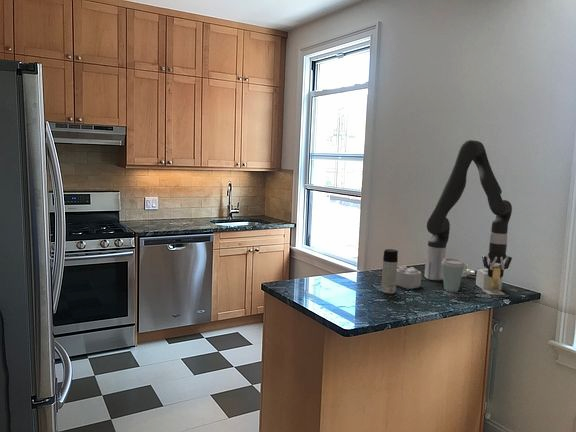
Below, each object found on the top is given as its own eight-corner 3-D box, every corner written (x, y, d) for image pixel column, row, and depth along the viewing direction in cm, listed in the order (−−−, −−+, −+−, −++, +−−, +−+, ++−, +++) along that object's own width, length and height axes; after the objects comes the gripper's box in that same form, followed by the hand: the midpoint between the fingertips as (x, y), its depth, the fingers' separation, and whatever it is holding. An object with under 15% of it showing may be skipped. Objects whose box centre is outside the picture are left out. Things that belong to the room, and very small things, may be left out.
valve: (456, 276, 261) (474, 281, 251) (457, 264, 260) (475, 269, 250) (464, 274, 264) (482, 280, 254) (465, 263, 263) (484, 268, 253)
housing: (483, 289, 235) (484, 273, 234) (475, 284, 244) (477, 269, 243) (501, 290, 235) (502, 274, 234) (493, 285, 244) (494, 269, 243)
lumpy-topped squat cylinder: (409, 289, 231) (410, 271, 230) (388, 282, 241) (390, 266, 240) (423, 286, 237) (424, 269, 236) (402, 280, 248) (403, 263, 246)
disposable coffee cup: (466, 290, 232) (468, 260, 230) (456, 294, 224) (459, 263, 222) (445, 285, 239) (447, 256, 237) (435, 289, 231) (438, 259, 229)
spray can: (396, 291, 227) (399, 249, 224) (393, 294, 221) (396, 252, 218) (383, 289, 230) (385, 248, 227) (379, 292, 224) (382, 250, 221)
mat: (488, 294, 227) (488, 293, 227) (482, 290, 234) (482, 289, 233) (505, 295, 227) (505, 294, 227) (498, 290, 234) (498, 290, 234)
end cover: (491, 289, 228) (493, 267, 226) (487, 287, 232) (489, 265, 231) (500, 290, 228) (502, 267, 226) (496, 287, 232) (498, 265, 231)
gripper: (509, 241, 231) (506, 275, 233) (480, 240, 231) (477, 274, 233) (517, 244, 223) (513, 279, 226) (486, 243, 223) (483, 278, 225)
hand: (495, 276), depth 229 cm, fingers closed on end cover, 4 cm apart
